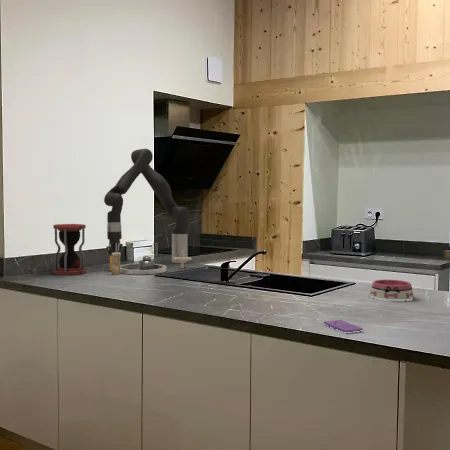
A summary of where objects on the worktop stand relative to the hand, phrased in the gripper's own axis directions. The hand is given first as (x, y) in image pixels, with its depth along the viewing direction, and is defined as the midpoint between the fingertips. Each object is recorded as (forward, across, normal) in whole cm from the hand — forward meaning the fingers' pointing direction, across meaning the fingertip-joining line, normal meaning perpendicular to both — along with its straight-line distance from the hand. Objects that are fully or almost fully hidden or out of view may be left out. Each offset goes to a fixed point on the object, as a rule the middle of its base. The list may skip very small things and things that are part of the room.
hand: (115, 262), depth 309 cm
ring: (+4, -2, +13) cm, 14 cm away
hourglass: (+4, +19, -15) cm, 25 cm away
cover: (+5, -8, +15) cm, 17 cm away
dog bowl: (+6, +13, +146) cm, 146 cm away
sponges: (+4, +74, +137) cm, 156 cm away
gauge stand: (+4, +13, +9) cm, 16 cm away
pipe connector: (+5, -23, +29) cm, 37 cm away
